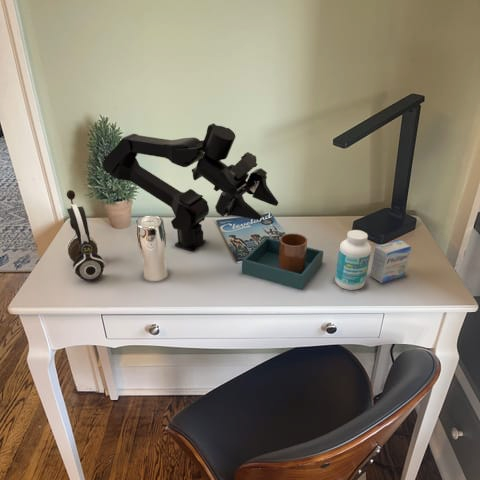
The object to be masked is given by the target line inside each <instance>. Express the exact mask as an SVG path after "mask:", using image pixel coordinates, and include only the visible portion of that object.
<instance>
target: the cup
mask: <svg viewBox="0 0 480 480" xmlns="http://www.w3.org/2000/svg"><path fill="white" fill-rule="evenodd" d="M279 240H280V244H279V264H278V268H280V269H284V270H287V271H291V272H295V273H299V274H302V273H303V271H304V270H305V262H306V250H307V247H308V238H307V237H306V236H305V235H303V234H300V233H293V232H292V233H285V234H282V235H281V236H280V237H279Z"/></svg>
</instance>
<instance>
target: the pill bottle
mask: <svg viewBox="0 0 480 480" xmlns="http://www.w3.org/2000/svg"><path fill="white" fill-rule="evenodd" d="M368 237H369V234H368V233H367V232H365V231H363V230H361V229H352V230H349V231H348V232H347V234H346V238H345V239H344V240H342V241H341V242H340V244H339V249H338V256H337V263H336V268H335V269H336V270H335V275H334V282H335V284H336V285H337V286H338V287H340V288H342V289H345V290H348V291H349V290H350V291H355V290H360V289H361V288H363V287H364V286H365V284H366V279H367V275H368V270H369V263H370V260H371V253H372V245H371V243H369V242H368Z"/></svg>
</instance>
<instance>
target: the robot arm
mask: <svg viewBox="0 0 480 480" xmlns="http://www.w3.org/2000/svg"><path fill="white" fill-rule="evenodd" d="M235 139H236V133H235V132H234V131H233V130H232V129H231V128H230V127H226V126H222V125H218V124H215V123H211V124H209V125H208V126H207V129H206V133H205V136H204V139H203V140H200V139H199V138H197V137H192V136H191V137H182V138H178V139H167V138H159V137H153V136H146V135H139V134H138V133H131V134H128V135H126V136H123V137H122V138H121V140H120V141H119V142H118V143H117V145H115V147H114V148H113V149H111V151H110V152H109V153H108V154H106V155H104V157H103V158H104V159H105V160H104V162H103V161H102V168H103V170H104V172H105V171H106V172H107V173H110V175H111V176H110V175H109V176H110V177H112V178H113V179H116V180H120V181H126V182H131V183H133V185H135V186H137V187H139V188H140V189H142V190H144V191H145V192H146V193H148V194H150V195H151V196H153V198H156V199H157V200H159V201H161V202H162V203H163V204H165V205H167V206H168V207H170V208H171V210H172V212H173V214H174V216H175V217H173V219H171V221H170V224H171V225H172V228H173V229H174V230H176V232H177V242H176V243H175V244H174V247H177V248H181V249H184V250H187V251H190V252H195V251H196V250H198V249H199V248H200V247H202V246H203V245H204V244H205V243H206V242H207V240H205V239H204V230H203V225H202V224H201V223H202V222H204V221H205V219H206V217H207V216H208V215H209V213H210V207H209V204H208V201H207V200H206V199H205V197H204V195H202V194H199V193H198V192H196V191H195V190H194V189H191V188H189V189H187V190H186V191H180V190H179V189H177V188H175V187H174V186H172V185H171V184H170V183H168V182H166V181H164V180H163V179H161V178H160V177H158V176H157V175H156V174H153V173H152V172H150V171H149V170H147V169H146V168H144V167H142V166H141V165H140V162H139V161H138V159H137V156H138V155H145V156H150V157H151V156H152V157H156V158H157V157H158V158H164V159H167V160H169V161H170V163H172V164H173V165H175V166H179V167H182V168H187V167H190V166H191V165H194V164H195V163H196V166H195V167H193V168H192V169H191V173H192V179H193V180H194V181H197V180H198V179H200V178H203V179H205V180H206V181H207V182H209V183H210V184H212V185H213V186H214V187H213V190H214V191H215V192H218V191H221V193H220V194H219V197H218V198H217V202H216V204H215V206H214V208H215V211H216V213H217V214H219V215H220V216H221V217H225V216H227V217H230V216H231V217H239V218H244V219H245V218H246V219H251V220H256V221H260V220H261V219H262V215H261V214H260V213H259V212H258V211H257V210H256V209H254V207H252V205H250V204H249V203H247V201H245V199H244V196H243V195H245V194H246V193H247V194H248V195H251V196H252V198H254V199H256V200H259V201H261V202H263V203H266V204H268V205H272V206H274V207H277V206H278V205H279V201H278V199H277V198H276V197H275V195H274V194H273V192H272V191H271V190H270V188H269V186H268V184H267V178H268V177H267V174H268V172H267V171H266V170H264V169H263V168H256V167H258V163H257V156H256V155H254V154H253V153H252V152H251V153H250V152H249V151H247V152H245V153H244V154H243V155H242V156H241V157H240V160H238V162H236V163H235V164H229V165H227V164H225V163H224V162H222V160H226V159H227V158H228V156H229V153H230V151H231V149H232V146H233V144H234V142H235ZM254 168H256V169H255V170H254V171H252V170H253V169H254ZM250 171H251V172H250ZM106 172H105V173H106ZM249 172H250V173H249ZM107 173H106V174H107Z"/></svg>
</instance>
